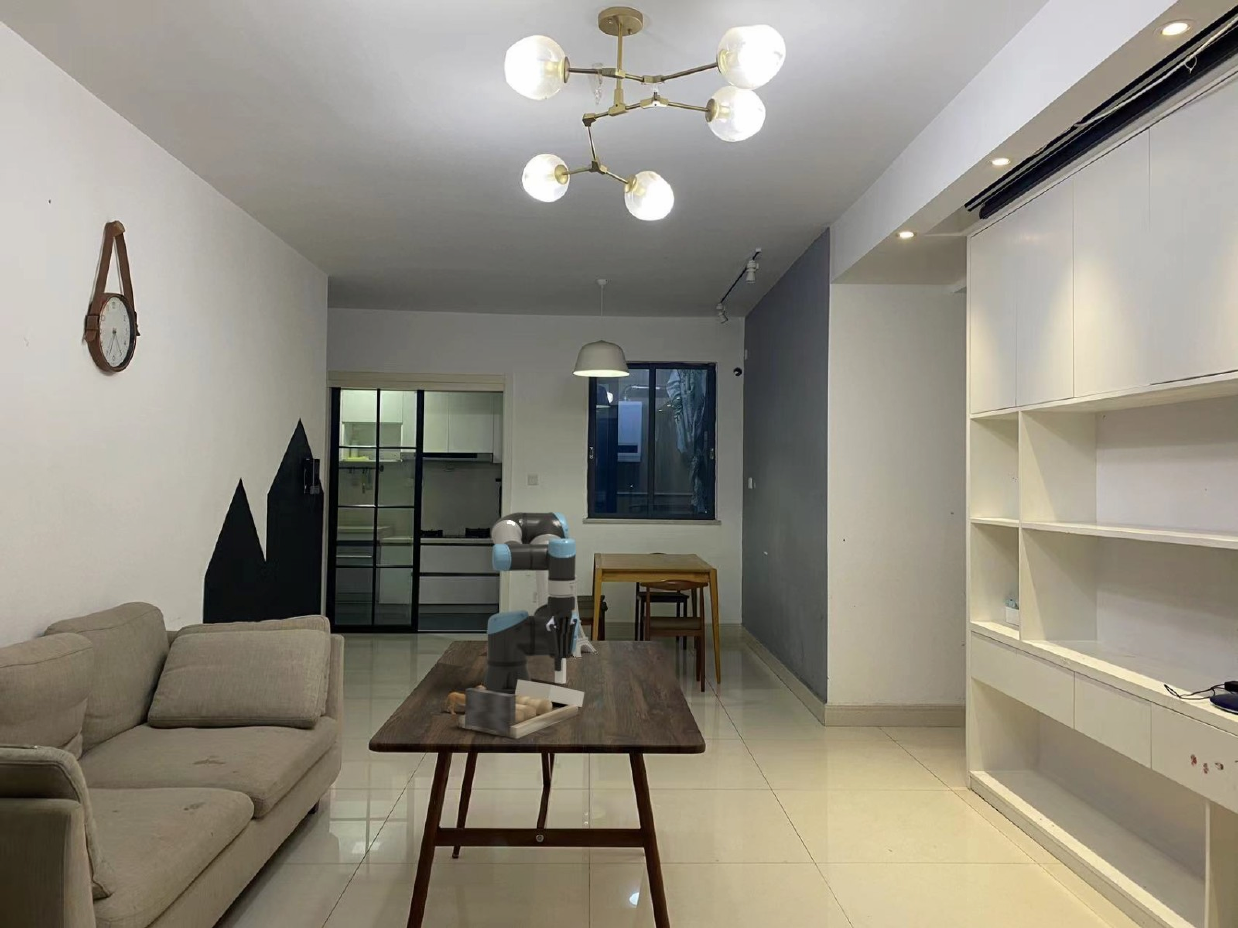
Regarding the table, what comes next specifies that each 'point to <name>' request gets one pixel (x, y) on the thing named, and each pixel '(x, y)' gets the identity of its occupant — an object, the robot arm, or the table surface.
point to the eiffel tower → (580, 630)
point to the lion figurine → (457, 700)
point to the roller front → (519, 717)
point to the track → (505, 714)
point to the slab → (549, 692)
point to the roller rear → (535, 704)
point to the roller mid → (527, 711)
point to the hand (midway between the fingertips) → (560, 682)
